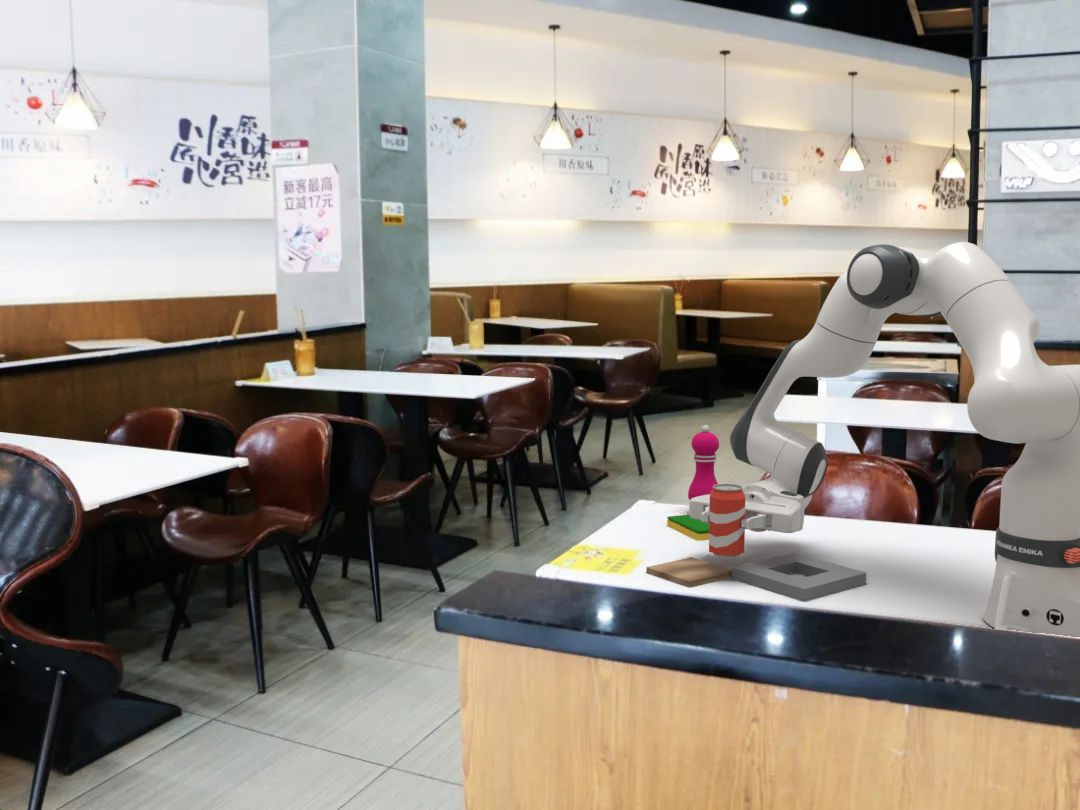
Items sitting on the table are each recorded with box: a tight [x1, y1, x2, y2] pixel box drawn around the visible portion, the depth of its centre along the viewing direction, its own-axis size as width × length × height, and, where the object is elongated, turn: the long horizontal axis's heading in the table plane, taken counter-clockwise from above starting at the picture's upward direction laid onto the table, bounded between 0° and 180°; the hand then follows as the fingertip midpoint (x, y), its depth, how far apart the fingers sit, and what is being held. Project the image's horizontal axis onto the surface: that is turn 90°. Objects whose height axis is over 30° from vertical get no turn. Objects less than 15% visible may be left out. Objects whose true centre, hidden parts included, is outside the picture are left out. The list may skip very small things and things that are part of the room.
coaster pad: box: [645, 556, 732, 588], centre depth 182 cm, size 11×11×1 cm
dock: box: [730, 552, 867, 602], centre depth 178 cm, size 16×16×2 cm
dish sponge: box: [666, 514, 709, 542], centre depth 213 cm, size 7×14×2 cm, turn 20°
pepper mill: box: [687, 424, 720, 501], centre depth 227 cm, size 7×7×20 cm
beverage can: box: [708, 483, 746, 559], centre depth 180 cm, size 6×6×12 cm
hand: (724, 521), depth 179 cm, fingers closed on beverage can, 6 cm apart
